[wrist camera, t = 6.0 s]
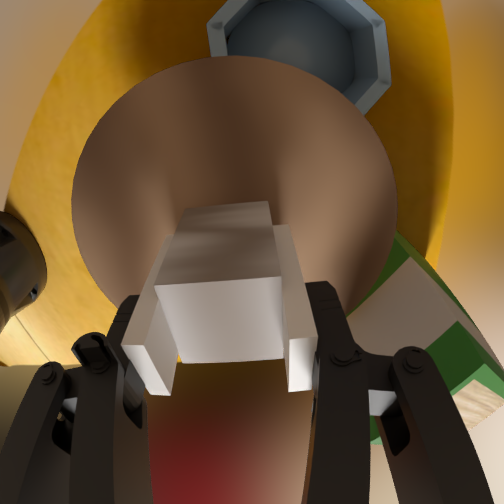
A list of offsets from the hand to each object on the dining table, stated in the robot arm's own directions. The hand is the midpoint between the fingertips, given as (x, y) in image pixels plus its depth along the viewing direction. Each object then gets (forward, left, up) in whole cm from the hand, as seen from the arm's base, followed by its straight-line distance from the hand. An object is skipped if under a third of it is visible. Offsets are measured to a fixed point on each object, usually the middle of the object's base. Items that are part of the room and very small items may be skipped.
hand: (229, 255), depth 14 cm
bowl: (+7, +10, -17) cm, 21 cm away
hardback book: (+15, -12, -18) cm, 26 cm away
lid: (0, 0, -3) cm, 3 cm away
